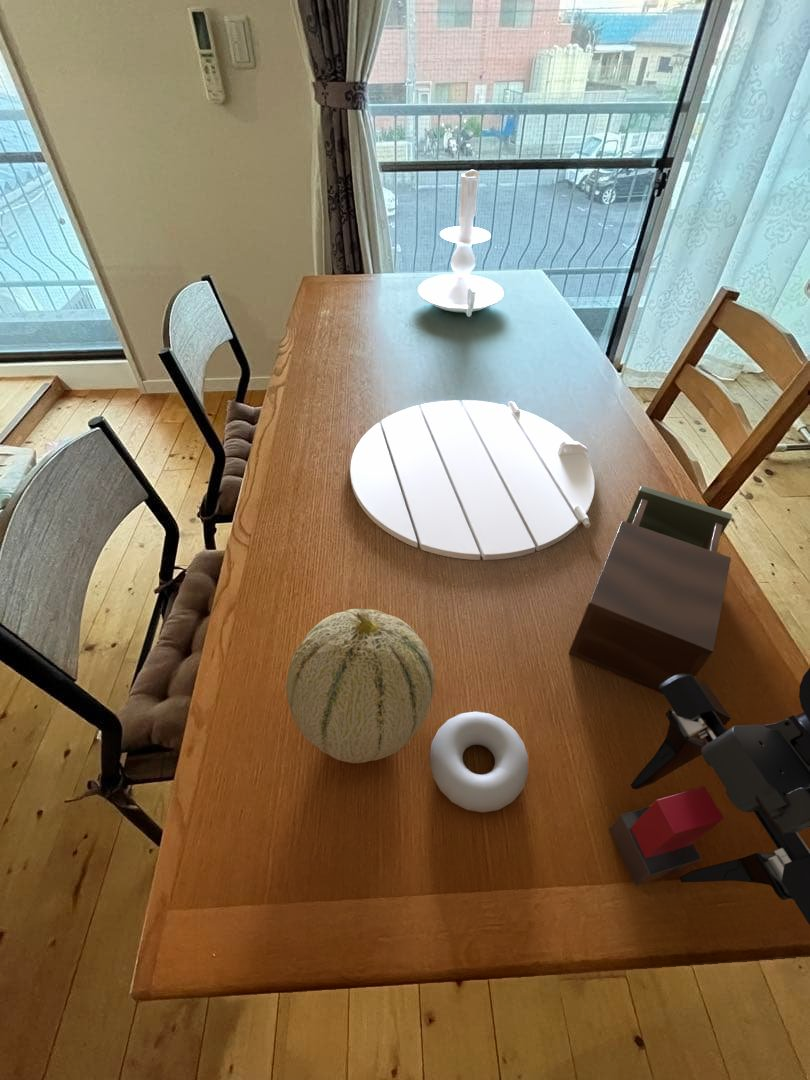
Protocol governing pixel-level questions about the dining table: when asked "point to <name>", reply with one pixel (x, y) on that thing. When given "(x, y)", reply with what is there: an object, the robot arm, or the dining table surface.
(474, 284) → the candlestick
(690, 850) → the stand
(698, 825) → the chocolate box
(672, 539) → the cabinet
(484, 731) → the donut
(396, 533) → the lazy susan
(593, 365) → the dining table surface
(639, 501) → the drawer
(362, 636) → the cantaloupe
